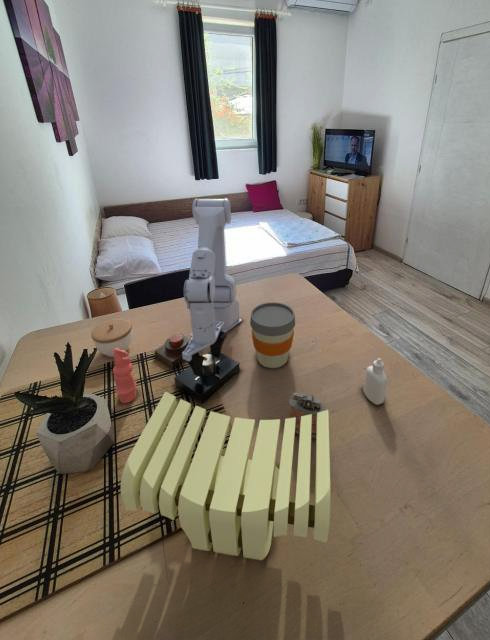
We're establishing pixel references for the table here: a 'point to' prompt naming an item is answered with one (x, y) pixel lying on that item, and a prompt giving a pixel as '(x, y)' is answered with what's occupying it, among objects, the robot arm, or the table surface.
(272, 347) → the reusable coffee cup
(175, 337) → the button
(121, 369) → the figurine
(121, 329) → the trinket box
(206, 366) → the dial
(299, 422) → the lighter
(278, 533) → the slatted curved stool
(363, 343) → the table surface
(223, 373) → the panel
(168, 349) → the button block
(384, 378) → the eye dropper bottle
